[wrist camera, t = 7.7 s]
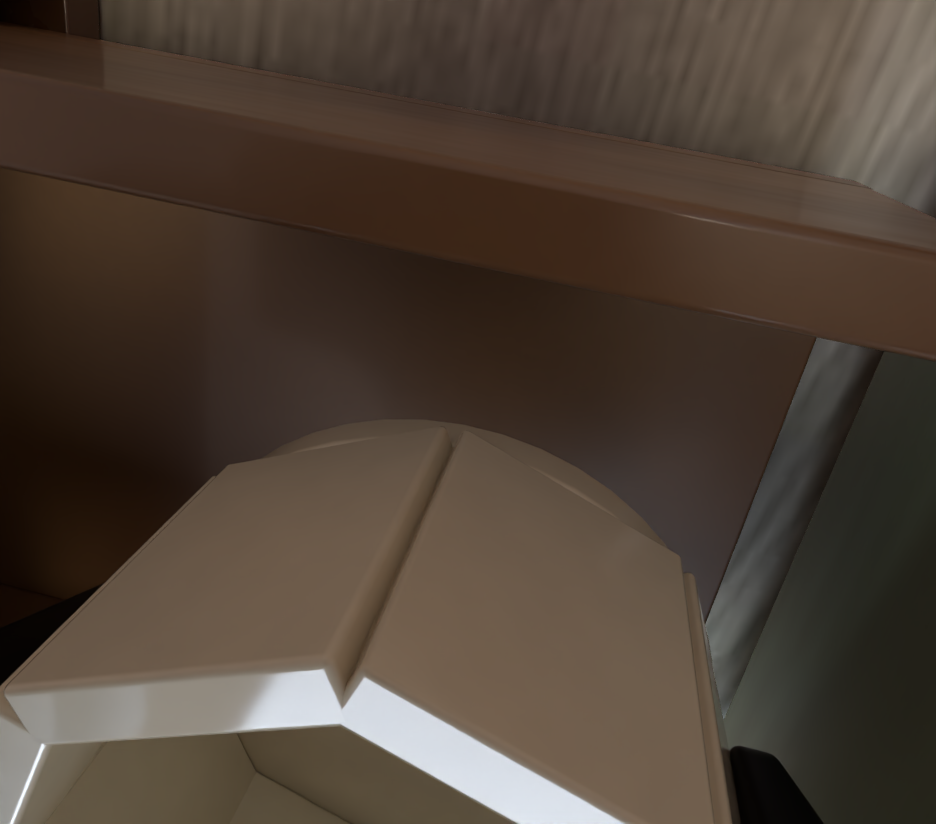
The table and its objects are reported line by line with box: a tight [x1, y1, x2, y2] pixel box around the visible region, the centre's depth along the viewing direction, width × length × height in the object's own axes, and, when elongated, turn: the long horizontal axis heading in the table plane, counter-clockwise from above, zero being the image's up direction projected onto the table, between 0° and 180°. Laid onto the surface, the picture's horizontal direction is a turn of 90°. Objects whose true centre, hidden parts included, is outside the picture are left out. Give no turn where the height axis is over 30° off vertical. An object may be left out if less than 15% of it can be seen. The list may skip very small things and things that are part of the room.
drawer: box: [0, 21, 936, 824], centre depth 10 cm, size 23×12×6 cm, turn 81°
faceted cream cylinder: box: [0, 419, 741, 824], centre depth 7 cm, size 6×6×4 cm
